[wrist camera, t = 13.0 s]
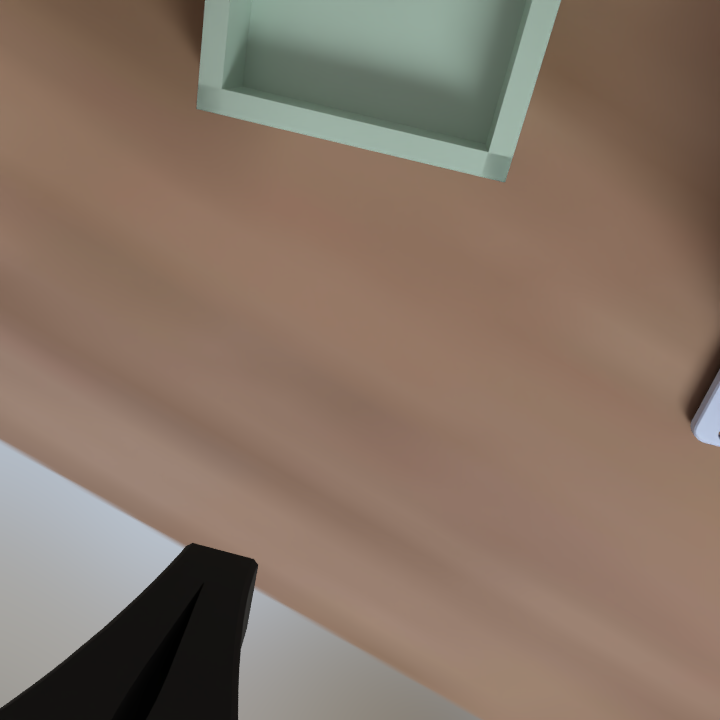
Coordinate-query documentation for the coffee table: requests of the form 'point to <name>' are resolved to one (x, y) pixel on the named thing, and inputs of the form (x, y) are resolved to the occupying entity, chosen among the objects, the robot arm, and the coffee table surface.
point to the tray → (381, 73)
